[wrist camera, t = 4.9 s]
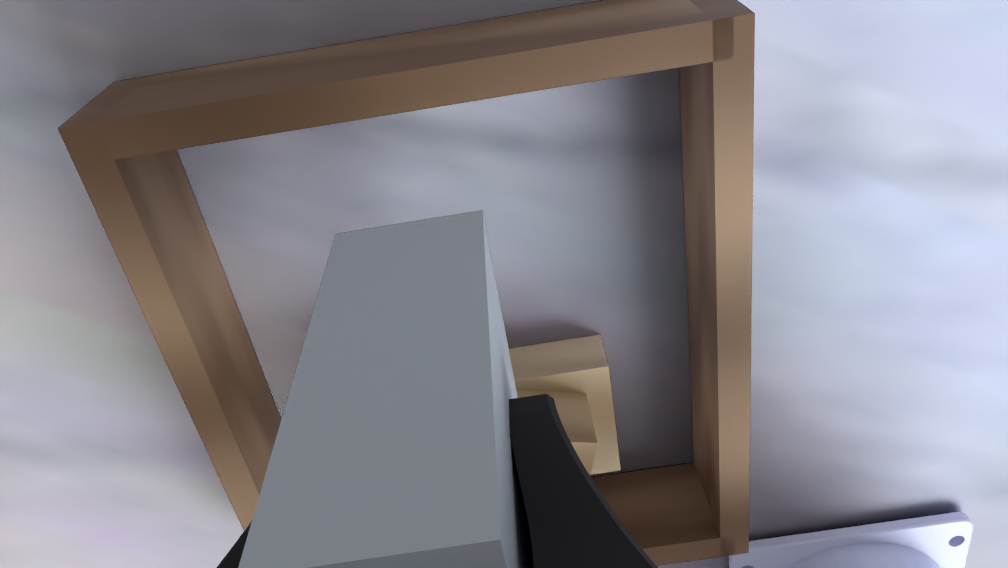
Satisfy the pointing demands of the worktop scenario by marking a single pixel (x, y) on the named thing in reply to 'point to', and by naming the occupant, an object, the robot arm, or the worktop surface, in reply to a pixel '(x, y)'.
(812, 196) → the worktop surface
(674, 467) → the frame
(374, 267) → the pale grey rectangular prism
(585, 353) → the offcut long
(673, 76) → the worktop surface
